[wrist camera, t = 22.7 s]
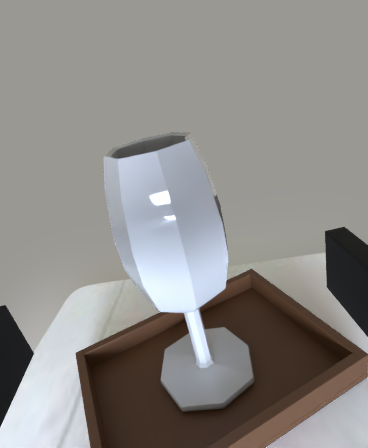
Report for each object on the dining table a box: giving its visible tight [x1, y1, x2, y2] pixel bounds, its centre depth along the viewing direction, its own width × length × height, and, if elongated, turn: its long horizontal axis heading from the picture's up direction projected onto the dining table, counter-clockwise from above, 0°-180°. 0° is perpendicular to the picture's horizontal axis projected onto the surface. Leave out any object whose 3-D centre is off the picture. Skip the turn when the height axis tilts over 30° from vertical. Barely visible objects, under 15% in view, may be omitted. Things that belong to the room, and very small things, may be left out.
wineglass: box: [104, 132, 254, 412], centre depth 25 cm, size 9×9×21 cm
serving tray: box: [76, 269, 368, 448], centre depth 29 cm, size 22×16×3 cm
